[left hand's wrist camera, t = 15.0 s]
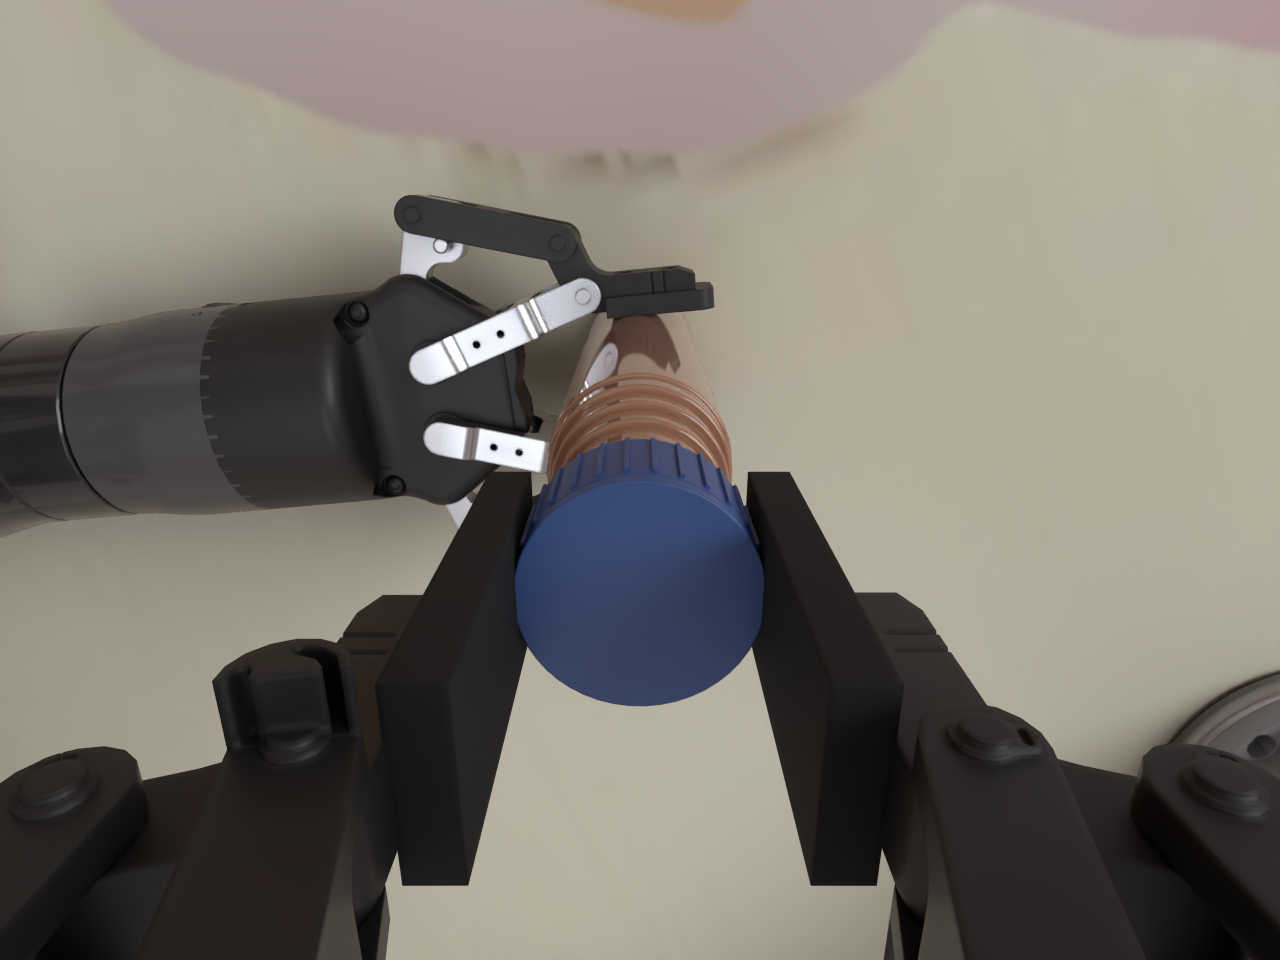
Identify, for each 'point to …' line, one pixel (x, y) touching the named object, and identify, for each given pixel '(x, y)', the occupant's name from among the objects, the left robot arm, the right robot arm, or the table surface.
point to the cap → (639, 574)
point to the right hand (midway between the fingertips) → (713, 365)
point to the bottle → (640, 392)
